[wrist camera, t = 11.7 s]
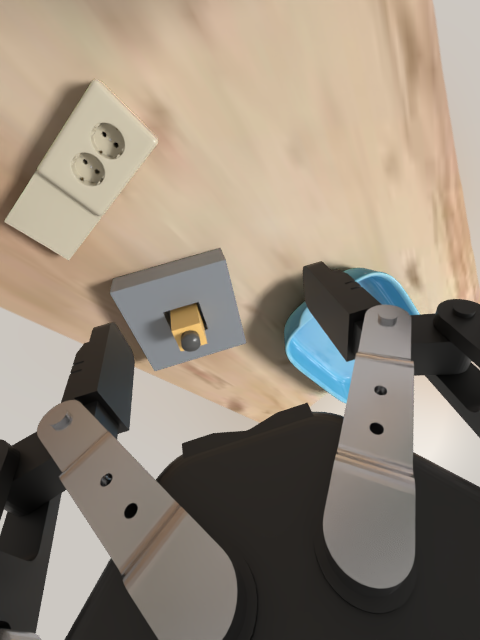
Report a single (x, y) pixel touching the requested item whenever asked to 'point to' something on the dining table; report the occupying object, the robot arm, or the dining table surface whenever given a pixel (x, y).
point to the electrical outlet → (82, 171)
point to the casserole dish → (318, 350)
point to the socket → (174, 292)
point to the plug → (188, 327)
